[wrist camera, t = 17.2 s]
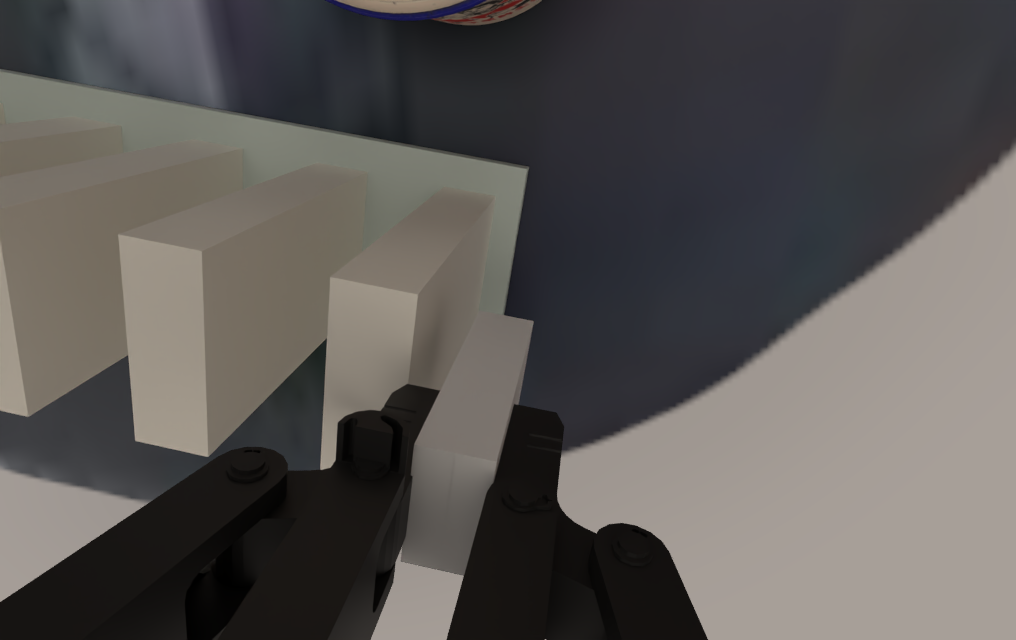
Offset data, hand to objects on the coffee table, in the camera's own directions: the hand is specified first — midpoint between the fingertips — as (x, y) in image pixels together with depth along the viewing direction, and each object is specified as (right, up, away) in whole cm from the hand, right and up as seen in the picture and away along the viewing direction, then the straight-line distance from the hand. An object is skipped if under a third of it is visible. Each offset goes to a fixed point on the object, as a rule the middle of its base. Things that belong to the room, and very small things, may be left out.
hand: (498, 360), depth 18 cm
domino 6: (-2, +3, +8) cm, 9 cm away
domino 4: (-11, +5, +8) cm, 15 cm away
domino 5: (-7, +4, +8) cm, 11 cm away
